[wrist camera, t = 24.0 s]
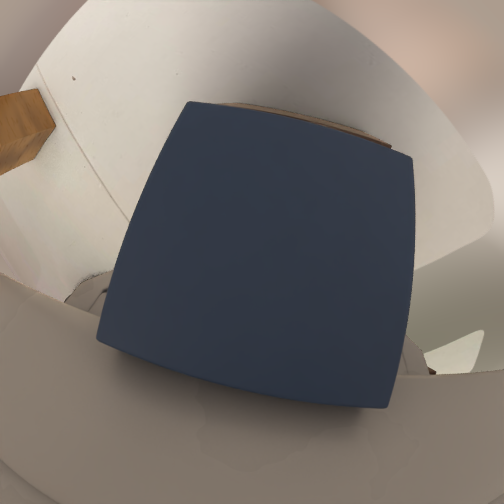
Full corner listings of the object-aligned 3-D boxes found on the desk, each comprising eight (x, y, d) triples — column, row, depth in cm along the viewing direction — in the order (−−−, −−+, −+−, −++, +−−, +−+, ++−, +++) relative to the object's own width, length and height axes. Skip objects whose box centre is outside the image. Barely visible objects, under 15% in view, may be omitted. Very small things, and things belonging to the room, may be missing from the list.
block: (210, 199, 9) (187, 99, 5) (342, 232, 9) (413, 156, 4) (170, 334, 8) (93, 340, 3) (316, 369, 8) (388, 409, 3)
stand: (37, 88, 23) (-16, 100, 15) (56, 126, 26) (1, 145, 18) (16, 123, 26) (-31, 141, 17) (33, 159, 29) (-14, 183, 21)
